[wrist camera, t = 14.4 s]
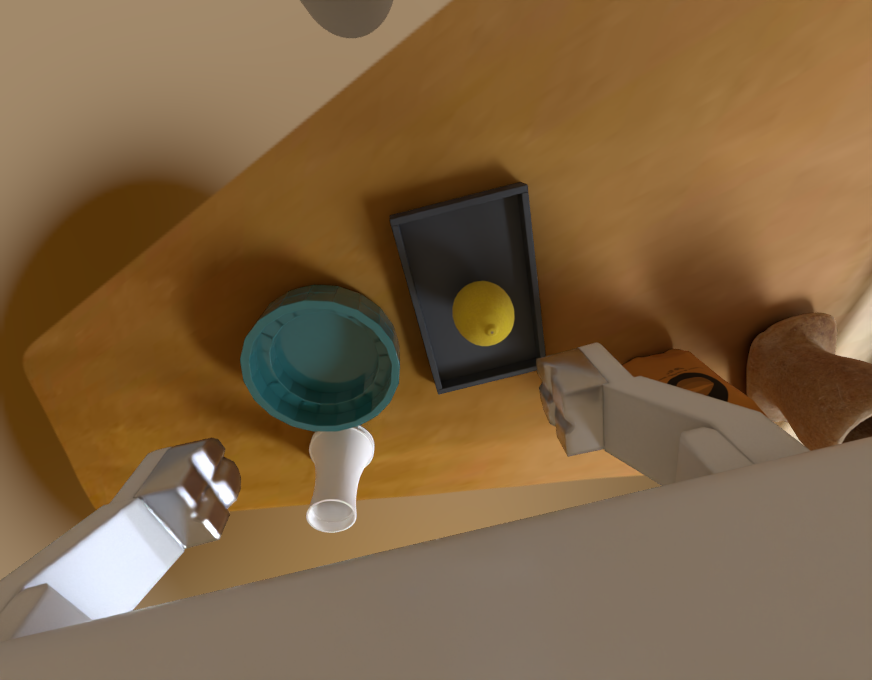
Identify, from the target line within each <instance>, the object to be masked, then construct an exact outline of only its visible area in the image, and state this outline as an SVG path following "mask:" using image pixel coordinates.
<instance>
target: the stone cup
mask: <svg viewBox="0 0 872 680" xmlns="http://www.w3.org/2000/svg"><path fill="white" fill-rule="evenodd" d="M836 343H837V327H836V321H835V319H834V318H833V317H832V316H831V315H828V314H825V313H807V314H801V315H798V316H794V317H790V318H788V319H785V320H782V321H780V322H778V323H775V324H774V325H772V326H771V327H769V328H768V329H767V330H766V331H765V332H762V333H760V334H759V335H758V336H757V337H756V338H755V339H754V341H753V342H752V345H751V347H750V351H749V355H748V361H747V396H748V397H749V398H751V399H752V400H753V401H755V403H756V404H757V405H758V406H759V408H760V409H761V410H762V411H763V412H764V413H765V414H766V416H767V417H768V418H769V419H770V420H771V421H774V422H778V421H785V422H788V423H789V424H790V426H791V428H792V429H793V431H794V432H795V434H796V435H797V437H798V439H799V440H800V441H801V442H802V443H803V444H804V446H805V447H806V448H808V449H809V450H810V451H812V450H817V449H821V448H825V447H829V446H834V445H838V444H842V443H846V442H851V441H855V440H859V439H863V438H868V437H872V364H870V363H867V362H864V361H860V360H856V359H852V358H847V357H841V356H837V355H835V352H836Z"/></svg>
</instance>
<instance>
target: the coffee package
mask: <svg viewBox="0 0 872 680" xmlns="http://www.w3.org/2000/svg"><path fill="white" fill-rule="evenodd" d="M622 366H623V367H624V368H625V369H626V370H627V371H628V372H629V373H630V374H631V375H632V376H633V377H637V376H642V377H646V378H649V379H652V380H656V381H659V382H662V383H666V384H669V385H672V386H676V387H679V388H682V389H686V390H689V391H692V392H695V393H699V394H702V395H705V396H709V397H712V398H715V399H719V400H722V401H725V402H729V403H732V404H735V405H739V406H742V407H745V408H748V409H752V410H755V411H758V412H761V413H762V414H763V415H765V416H766V414H765V413H764V412H763V411H762V410H761V409H760V408H759V406H758V405H757V404H756V403H755V401H753V400H752V399H751V398H749V397H748V396H746V395H745V394H743V393H742V392H741V391H739V390H738V389H737V388H735V387H734V386H732V385H731V384H729V383H728V382H726V381H725V380H723V379H722V378H721V377H720V376H718V375H717V374H716V373H715V372H713V371H712V370H711V369H710V368H709V367H707V366H706V365H705V364H704V363H703V362H701V361H700V360H699V359H698V358H696V357H695V356H694V355H693V354H692V353H691V352H689V351H683V350H680V349H671V350H668V351H667V352H665V353H662V354H656V355H651V356H649V357H636V358H634V359H632V360H631V361H629V362H627V363H625V364H623V365H622ZM766 417H767V416H766ZM767 418H768V417H767Z"/></svg>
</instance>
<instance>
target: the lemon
mask: <svg viewBox="0 0 872 680" xmlns="http://www.w3.org/2000/svg"><path fill="white" fill-rule="evenodd" d="M452 311H453V320H454V323H455V326H456V328H457V329H458V331H459V332H460V334H461V335H462V336H463V337H464V338H465V339H467V340H468V341H469V342H471V343H473V344H475V345H479V346H491V345H495V344H497V343H499V342H501V341H502V340H504V339H505V338H506V337H507V336H508V334H509V333H510V332H511V329H512V327H513V324H514V307H513V304H512V302H511V299H510V297H509V296H508V295H507V293H506V292H505V291H504V290H503V289H502V288H501V287H499V286H498V285H496V284H494V283H491V282H488V281H476V282H473V283H470V284H468V285H466V286H465V287H463V288H462V289H461V290H460V291H459V293H458V294H457V296H456V298H455V300H454V303H453V308H452Z"/></svg>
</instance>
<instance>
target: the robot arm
mask: <svg viewBox="0 0 872 680" xmlns="http://www.w3.org/2000/svg"><path fill="white" fill-rule="evenodd" d="M536 367H537V374H538V375H539V377H540V379H541V381H542V383H541V385H540V387H539V391H540V398H541V402H542V406H543V410H544V412H545V414H546V417H547V419H548V421H549V423H550V424H551V425H553V426H555V427H556V433H557V438H558V439H559V441H560V443H561V445H562V447H563V449H564V450H565V452H566V454H567V456H573V455H578V454H582V453H587V452H592V451H597V450H601V449H605V451H606V452H608V453H610V454H611V455H613V456H614V457H616V458H618V459H619V460H621V461H623V462H624V463H626V464H627V465H629V466H631V467H632V468H634V469H636V470H637V471H639V472H641V473H642V474H644V475H645V476H647V477H649V478H650V479H652V480H654V481H655V482H657V483H658V484H660V485H662V486H660V487H655V488H651V489H647V490H643V491H638V492H634V493H630V494H626V495H622V496H617V497H613V498H609V499H604V500H600V501H596V502H592V503H588V504H583V505H580V506H575V507H571V508H567V509H563V510H558V511H554V512H550V513H546V514H542V515H538V516H533V517H529V518H525V519H520V520H516V521H512V522H508V523H503V524H499V525H495V526H490V527H486V528H482V529H478V530H474V531H469V532H465V533H460V534H456V535H452V536H448V537H444V538H439V539H435V540H430V541H426V542H422V543H418V544H413V545H409V546H405V547H401V548H397V549H392V550H388V551H383V552H379V553H375V554H371V555H367V556H362V557H358V558H354V559H350V560H345V561H341V562H337V563H333V564H329V565H324V566H320V567H316V568H311V569H307V570H303V571H299V572H295V573H291V574H286V575H282V576H278V577H274V578H269V579H265V580H261V581H257V582H252V583H248V584H244V585H240V586H235V587H231V588H227V589H223V590H218V591H214V592H210V593H206V594H201V595H198V596H193V597H189V598H185V599H180V600H176V601H172V602H167V603H163V604H159V605H155V606H151V607H146V608H142V609H138V610H133V609H134V608H135V607H136V606H137V605H138V603H139V602H140V601H141V600H142V599H143V597H145V595H146V594H147V593H148V592H149V591H150V590H151V589H152V587H153V586H154V585H155V584H156V583H157V582H158V580H159V579H160V578H161V577H162V576H163V575H164V574H165V573H166V571H167V570H168V569H169V568H170V567H171V566H172V565H173V563H174V562H175V561H176V560H177V559H178V558H179V557H180V555H181V554H182V553H183V552H184V549H186V548H190V547H193V546H197V545H201V544H204V543H208V542H212V541H216V540H219V539H220V537H221V534H222V532H223V530H224V527H225V525H226V523H227V521H228V518H229V516H230V514H229V511H228V509H227V508H228V507H229V506H230V505H231V504H232V503H233V502H234V501H235V500H236V499H237V497H238V495H239V492H240V489H241V476H240V473H239V469H238V467H237V466H236V464H235V463H234V462H233V461H231V460H229V459H227V458H225V457H224V453H225V448H224V446H223V445H222V444H221V442H220V441H219V439H215V438H208V439H203V440H199V441H194V442H190V443H185V444H181V445H176V446H173V447H167V448H163V449H159V450H155V451H153V452H151V453H149V454H148V455H147V456H146V457H145V458H144V460H143V461H142V462H141V464H140V465H139V466H138V468H137V469H136V470H135V471H134V473H133V474H132V475H131V477H130V478H129V479H128V480H127V482H126V483H125V484H124V486H123V487H122V488H121V490H120V491H119V492H118V493H117V495H116V496H115V497H114V499H113V500H112V501H111V502H110V504H108V505H104V506H102V507H100V508H99V509H98V510H96V511H95V512H94V513H92V514H91V515H89V516H88V517H87V518H85V519H84V520H83V521H81V522H80V523H79V524H77V525H76V526H74V527H73V528H72V529H70V530H69V531H67V532H66V533H65V534H63V535H62V536H61V537H59V538H58V539H57V540H55V541H54V542H52V543H51V544H50V545H48V546H47V547H45V548H44V549H43V550H41V551H40V552H39V553H37V554H36V555H35V556H33V557H32V558H30V559H29V560H28V561H26V562H25V563H24V564H22V565H21V566H19V567H18V568H17V569H15V570H14V571H13V572H11V573H10V574H9V575H7V576H6V577H4V578H3V579H2V580H0V680H872V437H868V438H863V439H859V440H855V441H851V442H846V443H842V444H838V445H834V446H829V447H825V448H821V449H817V450H812V451H810V450H809V449H808V448H806V447H805V446H804V445H802V444H801V443H800V442H799V441H797V440H796V439H795V438H793V437H792V436H791V435H789V434H788V433H787V432H786V431H784V430H783V429H782V428H780V427H779V426H778V425H776V424H775V423H774V422H772V421H771V420H770V419H769V418H767V417H766V416H765V415H763V414H762V413H761V412H758V411H755V410H752V409H748V408H745V407H742V406H739V405H735V404H732V403H729V402H725V401H722V400H719V399H715V398H712V397H709V396H705V395H702V394H699V393H695V392H692V391H689V390H686V389H682V388H679V387H676V386H672V385H669V384H666V383H662V382H659V381H656V380H652V379H649V378H646V377H642V376H637V377H633V376H632V375H631V374H630V373H629V372H628V371H627V370H626V369H625V368H624V367H623V366H622V365H621V364H620V363H619V362H618V361H617V360H616V359H615V358H614V357H613V356H612V355H611V354H610V353H609V352H608V351H607V350H606V349H605V348H604V347H603V346H602V345H601V344H600V343H593V344H589V345H586V346H582V347H578V348H576V349H572V350H569V351H565V352H561V353H557V354H553V355H549V356H546V357H542V358H538V359H537V360H536ZM132 610H133V611H132Z"/></svg>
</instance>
